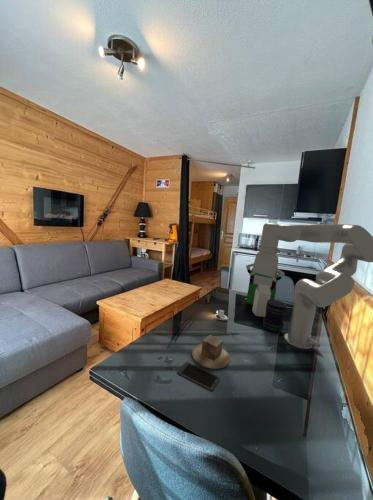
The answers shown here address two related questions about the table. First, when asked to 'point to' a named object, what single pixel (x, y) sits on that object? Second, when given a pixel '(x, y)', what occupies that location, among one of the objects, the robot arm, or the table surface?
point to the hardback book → (262, 281)
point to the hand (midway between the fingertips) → (261, 286)
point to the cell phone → (199, 376)
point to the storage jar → (274, 316)
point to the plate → (206, 362)
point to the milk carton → (261, 300)
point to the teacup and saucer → (221, 315)
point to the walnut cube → (211, 347)
